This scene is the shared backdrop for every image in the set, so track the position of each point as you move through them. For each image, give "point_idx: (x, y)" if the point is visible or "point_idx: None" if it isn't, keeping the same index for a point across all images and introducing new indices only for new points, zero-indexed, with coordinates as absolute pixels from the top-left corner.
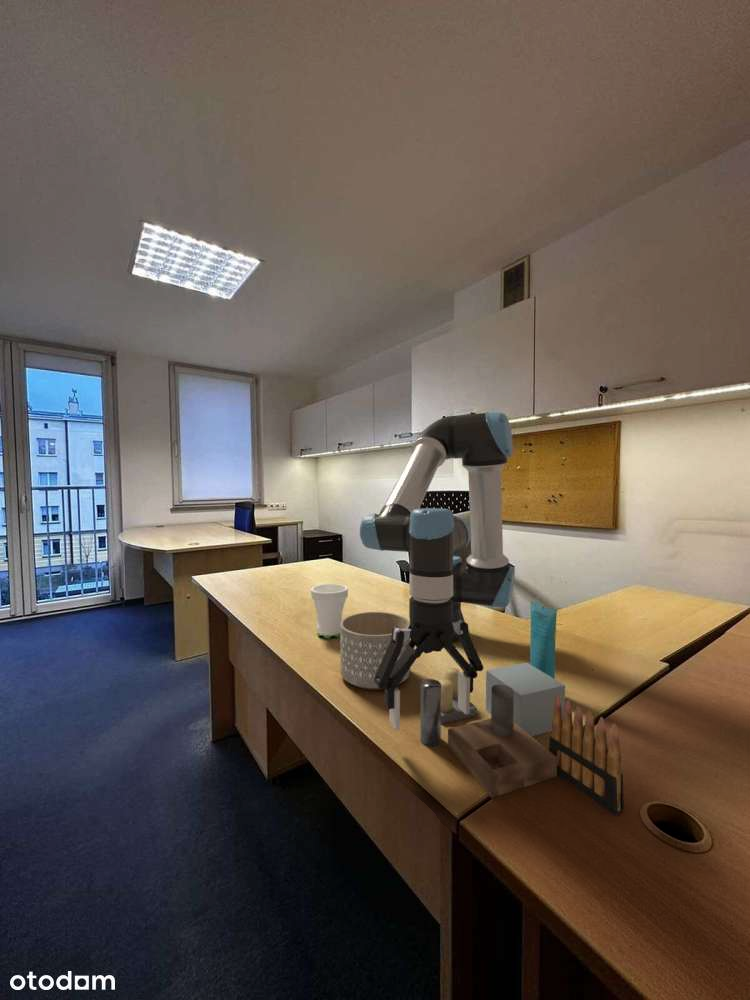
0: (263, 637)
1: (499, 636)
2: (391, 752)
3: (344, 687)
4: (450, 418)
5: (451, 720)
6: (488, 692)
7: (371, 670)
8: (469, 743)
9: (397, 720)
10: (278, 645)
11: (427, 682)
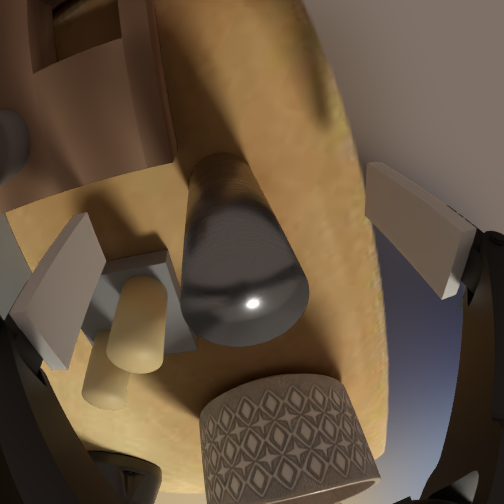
0: (385, 442)
1: None
2: (348, 156)
3: (345, 376)
4: None
5: (132, 257)
6: None
7: (320, 408)
8: (125, 72)
9: (392, 174)
10: (379, 436)
11: (258, 320)
